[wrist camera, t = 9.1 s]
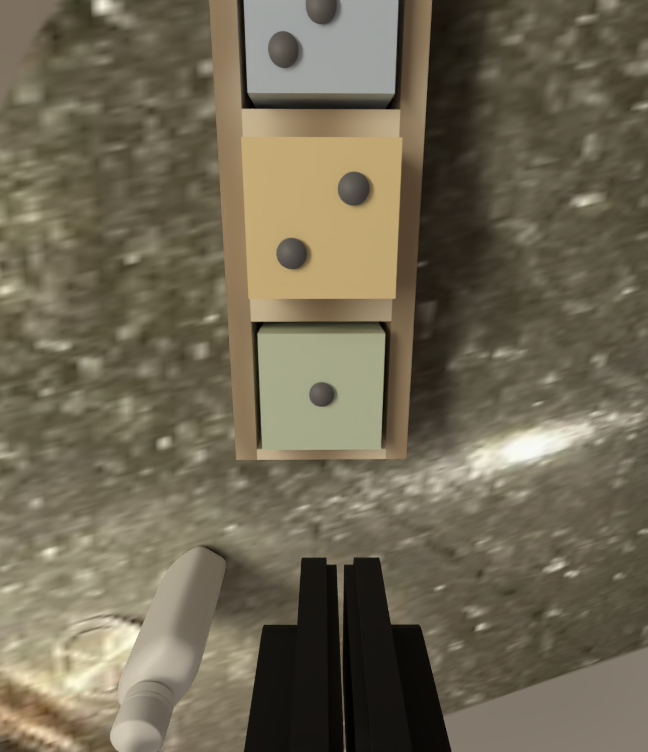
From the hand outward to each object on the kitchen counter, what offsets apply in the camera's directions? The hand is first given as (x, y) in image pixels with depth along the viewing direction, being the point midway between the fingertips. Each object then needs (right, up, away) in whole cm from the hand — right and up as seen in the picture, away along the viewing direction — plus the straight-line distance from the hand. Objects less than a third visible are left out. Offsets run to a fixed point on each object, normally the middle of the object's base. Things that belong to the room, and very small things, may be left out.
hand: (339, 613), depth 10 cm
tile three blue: (0, +21, +12) cm, 24 cm away
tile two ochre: (0, +12, +12) cm, 17 cm away
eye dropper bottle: (-9, -8, +22) cm, 25 cm away
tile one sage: (-1, +5, +17) cm, 18 cm away
